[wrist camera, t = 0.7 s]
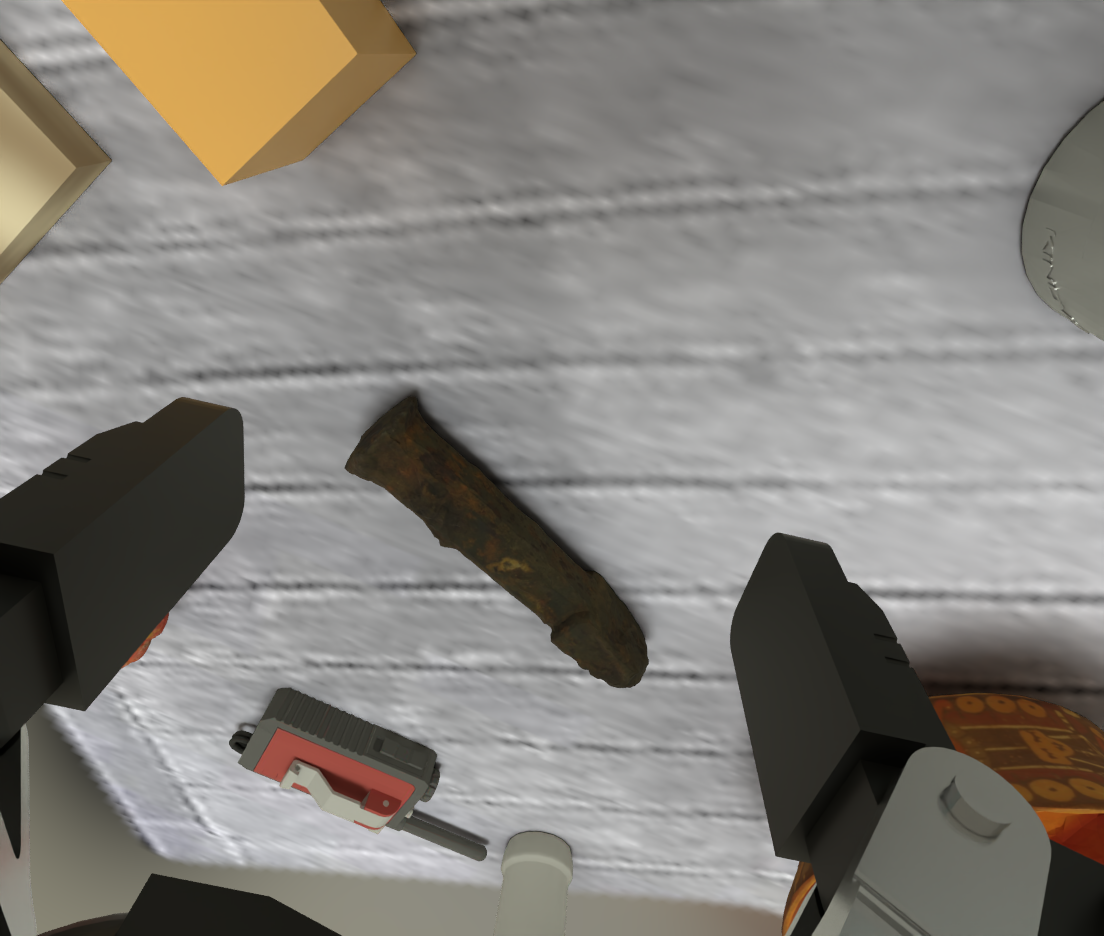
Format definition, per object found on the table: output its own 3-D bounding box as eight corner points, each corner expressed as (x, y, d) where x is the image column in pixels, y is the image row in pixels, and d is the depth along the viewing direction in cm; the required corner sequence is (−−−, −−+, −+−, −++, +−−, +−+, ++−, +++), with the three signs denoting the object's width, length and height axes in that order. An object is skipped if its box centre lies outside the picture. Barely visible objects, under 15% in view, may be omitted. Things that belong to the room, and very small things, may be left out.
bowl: (1189, 795, 40) (1341, 997, 31) (844, 881, 48) (889, 1058, 39) (1074, 563, 32) (1233, 746, 24) (687, 713, 40) (702, 888, 32)
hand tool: (360, 428, 32) (322, 480, 28) (415, 381, 31) (383, 429, 27) (606, 655, 39) (602, 723, 35) (662, 626, 37) (665, 694, 33)
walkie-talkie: (231, 739, 47) (482, 843, 51) (197, 799, 43) (471, 906, 47) (267, 669, 43) (539, 789, 46) (232, 728, 39) (531, 853, 43)
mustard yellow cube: (293, -126, 21) (188, -183, 16) (416, 54, 24) (357, 54, 19) (180, 7, 24) (56, -6, 19) (302, 160, 26) (222, 185, 21)
